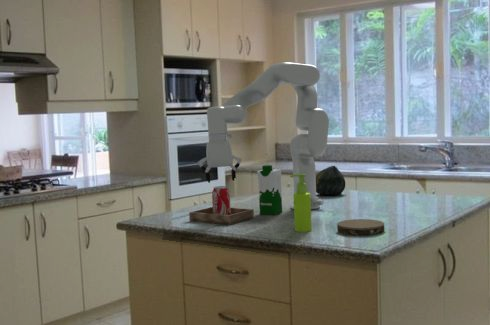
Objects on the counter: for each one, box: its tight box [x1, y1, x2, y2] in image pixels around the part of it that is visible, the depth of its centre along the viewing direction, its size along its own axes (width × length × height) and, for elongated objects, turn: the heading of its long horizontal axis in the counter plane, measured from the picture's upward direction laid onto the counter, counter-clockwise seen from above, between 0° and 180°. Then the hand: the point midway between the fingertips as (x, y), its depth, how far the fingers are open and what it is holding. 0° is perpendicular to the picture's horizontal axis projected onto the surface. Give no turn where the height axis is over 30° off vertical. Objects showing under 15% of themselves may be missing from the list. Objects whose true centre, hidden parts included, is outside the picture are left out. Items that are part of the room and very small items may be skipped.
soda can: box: [211, 185, 231, 215], centre depth 246 cm, size 7×7×12 cm
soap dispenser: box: [289, 174, 312, 233], centre depth 218 cm, size 6×7×20 cm
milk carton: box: [256, 164, 283, 216], centre depth 256 cm, size 9×9×20 cm
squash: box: [315, 165, 346, 196], centre depth 300 cm, size 14×15×15 cm
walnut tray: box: [188, 206, 255, 226], centre depth 247 cm, size 20×16×4 cm
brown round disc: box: [336, 218, 385, 237], centre depth 214 cm, size 16×16×3 cm
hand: (221, 181), depth 246 cm, fingers open, 9 cm apart
